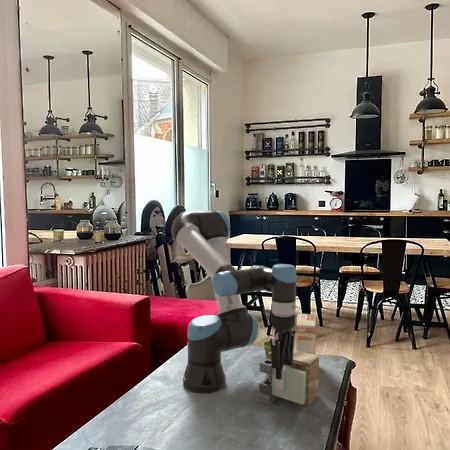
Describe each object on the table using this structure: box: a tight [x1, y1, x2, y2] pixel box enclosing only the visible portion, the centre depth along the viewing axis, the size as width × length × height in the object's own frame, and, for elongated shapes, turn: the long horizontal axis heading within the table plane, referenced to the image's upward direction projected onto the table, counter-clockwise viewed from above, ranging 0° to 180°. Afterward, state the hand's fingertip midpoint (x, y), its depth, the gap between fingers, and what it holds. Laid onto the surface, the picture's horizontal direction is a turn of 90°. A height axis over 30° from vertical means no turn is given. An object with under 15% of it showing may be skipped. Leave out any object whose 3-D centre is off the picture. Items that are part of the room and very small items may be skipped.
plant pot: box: [262, 339, 271, 359], centre depth 176 cm, size 9×9×9 cm
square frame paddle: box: [258, 358, 306, 406], centre depth 144 cm, size 15×4×10 cm, turn 54°
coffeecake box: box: [295, 313, 317, 355], centre depth 172 cm, size 15×7×20 cm, turn 168°
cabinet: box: [257, 349, 320, 406], centre depth 149 cm, size 15×14×14 cm
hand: (282, 386), depth 144 cm, fingers open, 3 cm apart
